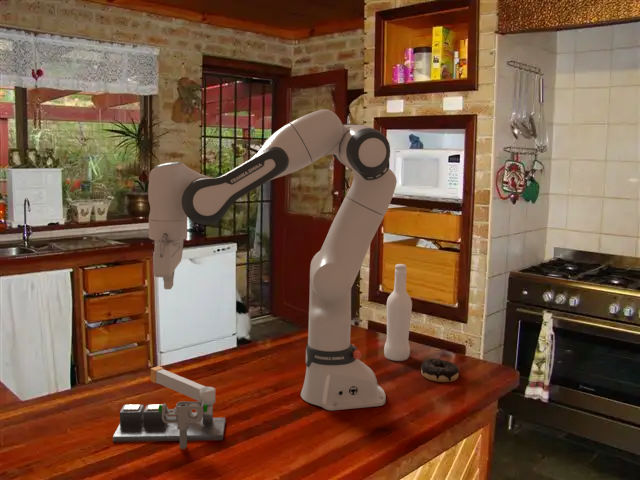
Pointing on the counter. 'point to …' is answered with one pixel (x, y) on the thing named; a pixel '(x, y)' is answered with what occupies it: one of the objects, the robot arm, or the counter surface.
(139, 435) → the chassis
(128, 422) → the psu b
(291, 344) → the counter surface
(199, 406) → the mechanical component
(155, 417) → the block
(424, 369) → the donut
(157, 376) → the lever
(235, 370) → the counter surface
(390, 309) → the bottle
